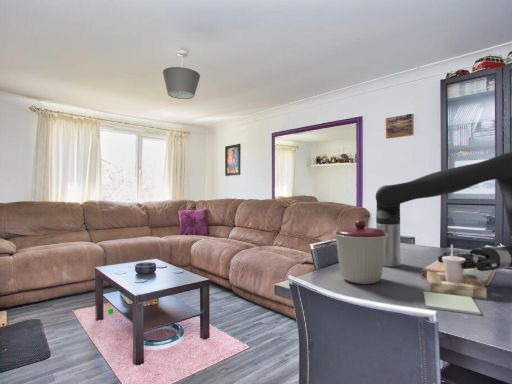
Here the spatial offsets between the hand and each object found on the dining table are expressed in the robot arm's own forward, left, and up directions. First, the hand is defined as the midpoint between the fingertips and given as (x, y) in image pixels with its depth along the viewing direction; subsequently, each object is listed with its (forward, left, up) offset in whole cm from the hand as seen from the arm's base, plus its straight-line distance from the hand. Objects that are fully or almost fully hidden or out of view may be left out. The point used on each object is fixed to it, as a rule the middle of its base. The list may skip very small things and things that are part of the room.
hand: (450, 262), depth 96 cm
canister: (-27, -1, -9) cm, 28 cm away
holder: (+1, +1, -9) cm, 9 cm away
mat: (-2, -14, -9) cm, 17 cm away
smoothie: (+1, +1, -9) cm, 9 cm away
